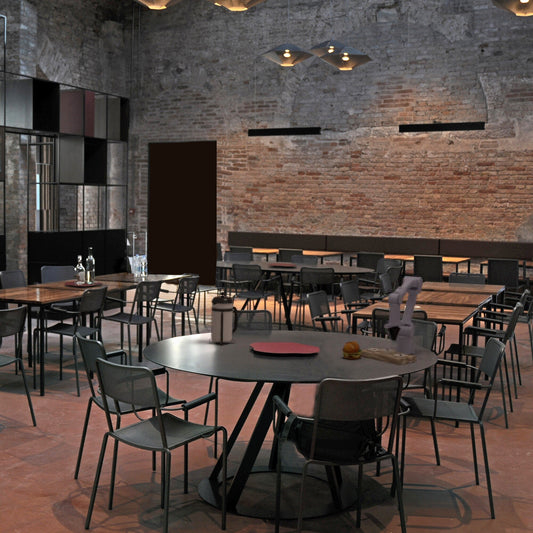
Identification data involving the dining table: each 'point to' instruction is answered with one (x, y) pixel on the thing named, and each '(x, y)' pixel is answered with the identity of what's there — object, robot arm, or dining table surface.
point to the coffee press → (223, 319)
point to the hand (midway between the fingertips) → (393, 340)
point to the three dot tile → (400, 355)
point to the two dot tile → (387, 351)
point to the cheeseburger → (352, 350)
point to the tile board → (388, 357)
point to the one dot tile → (374, 350)
